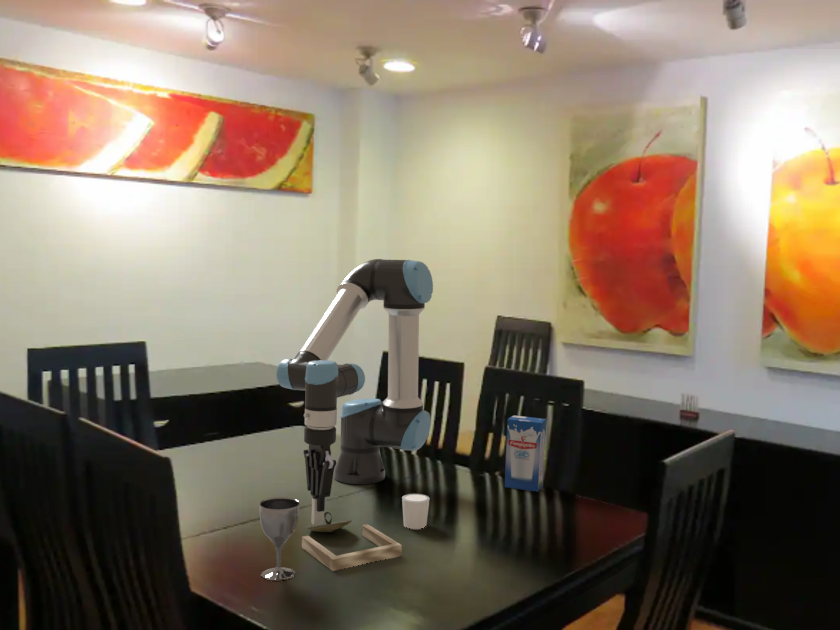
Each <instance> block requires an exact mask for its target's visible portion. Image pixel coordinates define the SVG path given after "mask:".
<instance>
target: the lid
mask: <svg viewBox="0 0 840 630" xmlns="http://www.w3.org/2000/svg"><path fill="white" fill-rule="evenodd" d="M328 514H329V515H330V516H331V517H330V519H329V521H328V520H327V519H326V518H327V515H328ZM332 520H333V519H332V513H331V512H329V511H327V512H326V511H325V512H324V522H325V523H322V524H317V525H312V526H306V529H307V530H309V531H312V532H320V533H331V532H334V531H336V530H339V529H341V528H344V527H345V526H347V525H349V524H351V523H352V520H351V519H350V520H341V521H334V522H332Z"/></svg>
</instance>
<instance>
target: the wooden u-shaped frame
mask: <svg viewBox="0 0 840 630" xmlns="http://www.w3.org/2000/svg"><path fill="white" fill-rule="evenodd" d="M361 536H362V537H363V538H365V539H366V540H368V541H369V542H371V543H373V544H374V545H376V546H377V547H371V548H366V549H362V550H357V551H353V552H348V553H342V554H338V555H335V553H333V552H332V551H331V550H329V549H328V548H326V547H324V546H323V545H322V544H321V543H319V542H318V541H316V540H315V539H314V538H312V537H311V536H309V535H304V536H303V535H302V536H301V548H302V549H303V550H304V551H306V552H307V553H308V554H310V555H311V556H312V557H314V558H315V559H316V560H317V561H319V562H320V563H321V564H323V565H324V566H325V567H327V568H328V569H329V570H330V571H332V572H335V571H341V570H345V569H349V567H350V568H354V567H358V565H359V566H362V564H363V565H366V563H368V564H371V563H370V562H372V563H376V562H375V561H377V562H381V561H385V559H386V560H389V559H395V558H398V557H402V551H403V550H402V547H403V544H401V543H399V542H397V541H396V540H394V539H393V538H391V537H389V536H388V535H386V534H385V533H383V532H381V531H380V530H378V529H376V528H375V527H373V526H371V525H369V524H368V523H367V524H362V525H361ZM380 560H381V561H380ZM353 566H354V567H353ZM344 568H345V569H344ZM340 569H341V570H340Z"/></svg>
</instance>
